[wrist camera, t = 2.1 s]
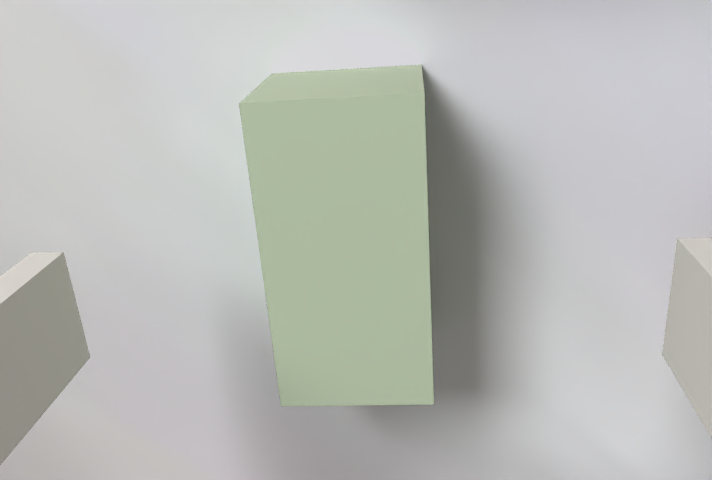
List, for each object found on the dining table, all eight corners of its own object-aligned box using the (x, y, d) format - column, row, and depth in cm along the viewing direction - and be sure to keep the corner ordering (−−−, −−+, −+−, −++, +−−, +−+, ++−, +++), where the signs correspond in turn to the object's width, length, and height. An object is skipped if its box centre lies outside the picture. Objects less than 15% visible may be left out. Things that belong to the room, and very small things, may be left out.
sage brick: (429, 325, 21) (434, 404, 17) (303, 328, 21) (280, 406, 18) (421, 63, 18) (424, 92, 14) (273, 72, 18) (239, 103, 14)
